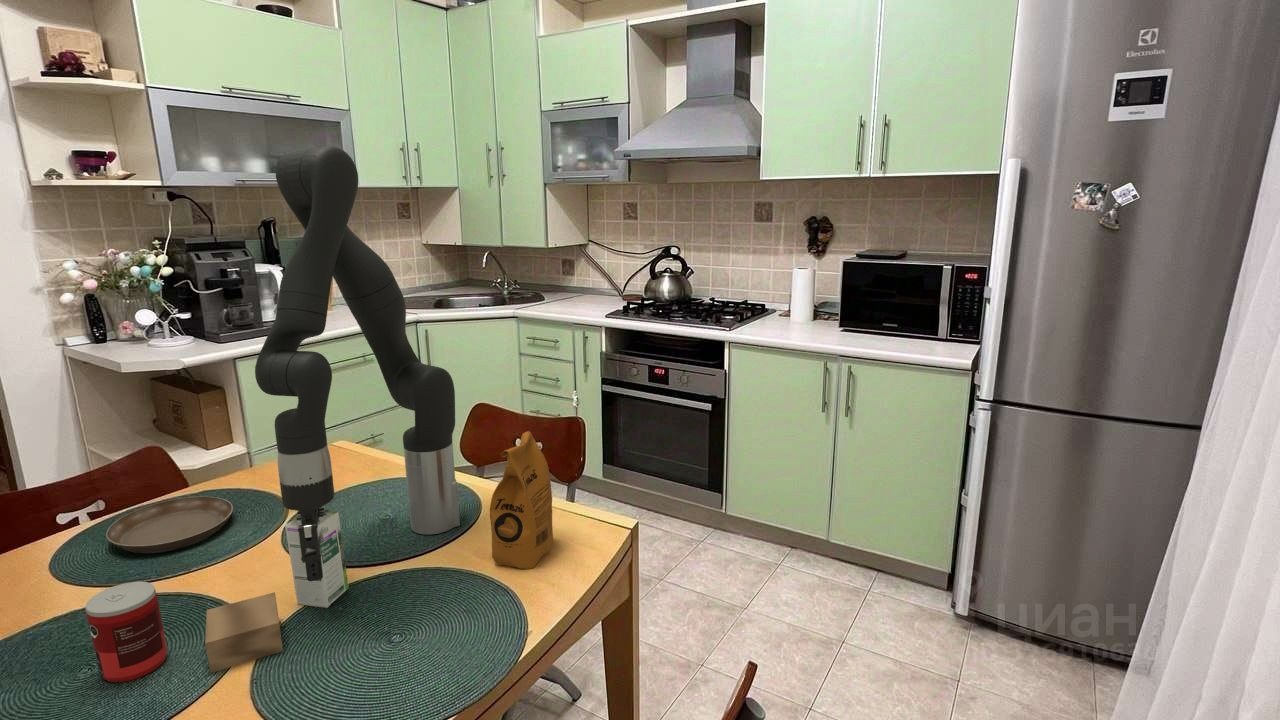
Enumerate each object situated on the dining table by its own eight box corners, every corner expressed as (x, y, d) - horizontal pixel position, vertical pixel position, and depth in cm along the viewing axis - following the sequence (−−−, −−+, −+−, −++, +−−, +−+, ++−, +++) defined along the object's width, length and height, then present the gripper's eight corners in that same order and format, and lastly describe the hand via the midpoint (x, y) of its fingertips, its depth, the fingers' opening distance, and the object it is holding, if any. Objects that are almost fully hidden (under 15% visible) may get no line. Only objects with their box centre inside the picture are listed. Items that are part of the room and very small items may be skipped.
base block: (279, 620, 106) (274, 592, 104) (283, 652, 98) (278, 622, 97) (211, 639, 101) (206, 609, 100) (210, 674, 94) (205, 643, 92)
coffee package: (483, 565, 120) (475, 450, 115) (514, 533, 132) (508, 427, 127) (534, 574, 118) (528, 456, 113) (561, 540, 129) (557, 432, 124)
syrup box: (327, 608, 108) (317, 526, 105) (295, 604, 109) (284, 523, 106) (349, 589, 113) (340, 510, 110) (318, 585, 115) (308, 507, 111)
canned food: (123, 649, 98) (109, 582, 96) (180, 646, 99) (167, 579, 97) (85, 685, 91) (69, 614, 88) (147, 682, 92) (133, 611, 89)
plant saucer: (257, 522, 137) (254, 508, 137) (146, 571, 120) (143, 554, 119) (197, 502, 147) (195, 488, 146) (87, 544, 129) (83, 529, 128)
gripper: (330, 487, 101) (341, 583, 105) (333, 455, 114) (342, 542, 118) (274, 495, 98) (287, 594, 102) (283, 461, 111) (295, 550, 115)
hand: (316, 566), depth 110 cm, fingers open, 8 cm apart
